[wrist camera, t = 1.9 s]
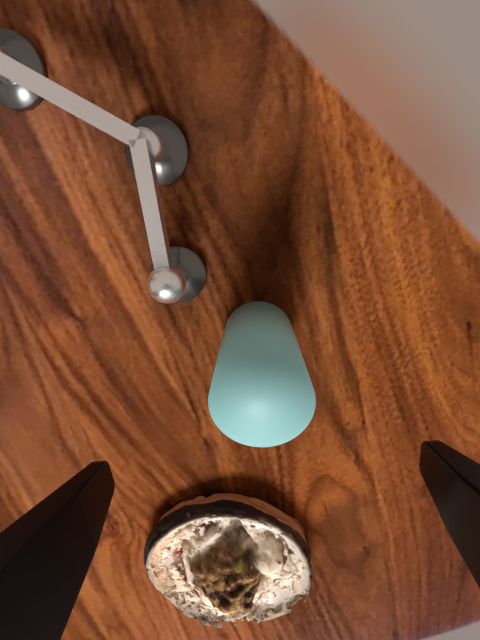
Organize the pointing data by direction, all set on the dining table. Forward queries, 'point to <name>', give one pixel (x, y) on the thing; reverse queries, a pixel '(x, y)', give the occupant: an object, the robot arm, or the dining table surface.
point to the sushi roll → (228, 558)
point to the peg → (260, 379)
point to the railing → (141, 152)
